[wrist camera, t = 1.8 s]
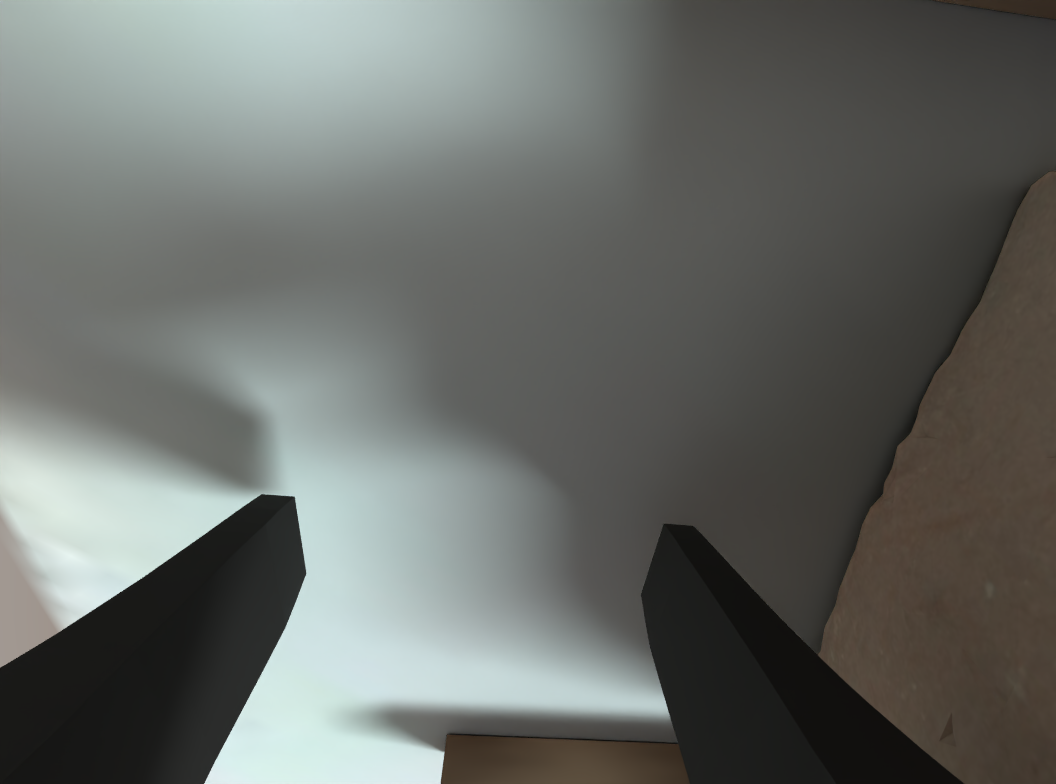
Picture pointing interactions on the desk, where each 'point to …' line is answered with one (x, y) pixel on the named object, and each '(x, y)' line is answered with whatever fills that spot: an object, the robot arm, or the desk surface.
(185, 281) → the desk surface
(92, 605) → the desk surface
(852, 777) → the robot arm
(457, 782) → the lane
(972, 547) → the brick
